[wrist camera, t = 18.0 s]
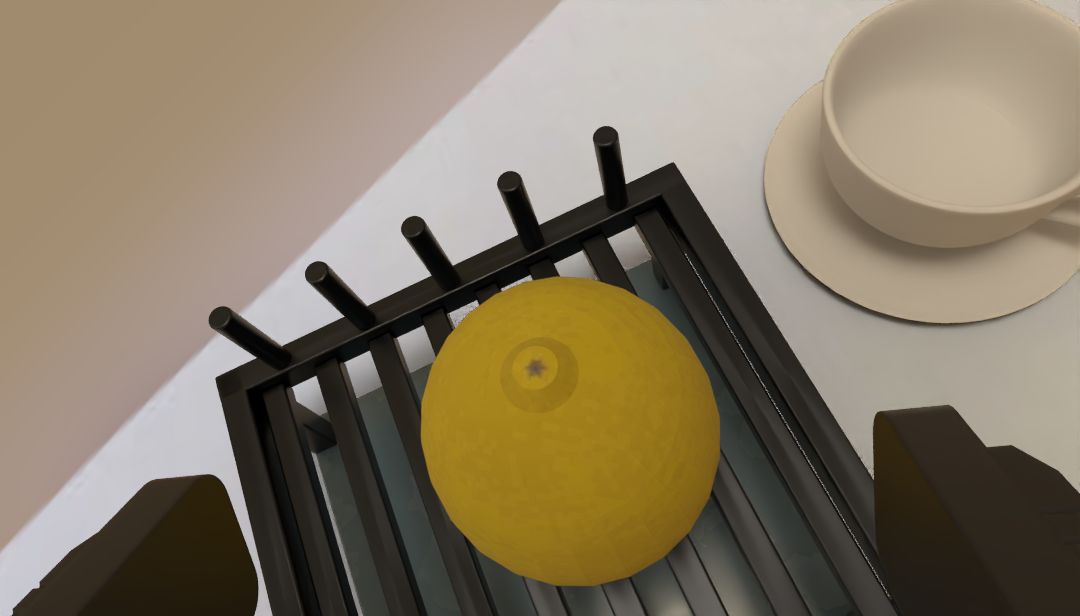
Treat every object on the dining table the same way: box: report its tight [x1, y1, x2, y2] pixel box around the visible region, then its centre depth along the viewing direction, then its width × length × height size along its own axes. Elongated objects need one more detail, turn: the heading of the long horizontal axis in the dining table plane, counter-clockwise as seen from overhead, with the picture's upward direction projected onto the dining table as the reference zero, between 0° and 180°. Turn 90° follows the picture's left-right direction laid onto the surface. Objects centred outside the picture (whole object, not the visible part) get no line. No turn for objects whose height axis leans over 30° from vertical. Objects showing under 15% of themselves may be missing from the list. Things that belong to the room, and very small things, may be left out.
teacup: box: [764, 0, 1080, 323], centre depth 23 cm, size 10×10×5 cm
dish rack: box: [209, 126, 902, 616], centre depth 19 cm, size 14×13×8 cm
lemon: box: [421, 277, 720, 586], centre depth 15 cm, size 6×6×8 cm
